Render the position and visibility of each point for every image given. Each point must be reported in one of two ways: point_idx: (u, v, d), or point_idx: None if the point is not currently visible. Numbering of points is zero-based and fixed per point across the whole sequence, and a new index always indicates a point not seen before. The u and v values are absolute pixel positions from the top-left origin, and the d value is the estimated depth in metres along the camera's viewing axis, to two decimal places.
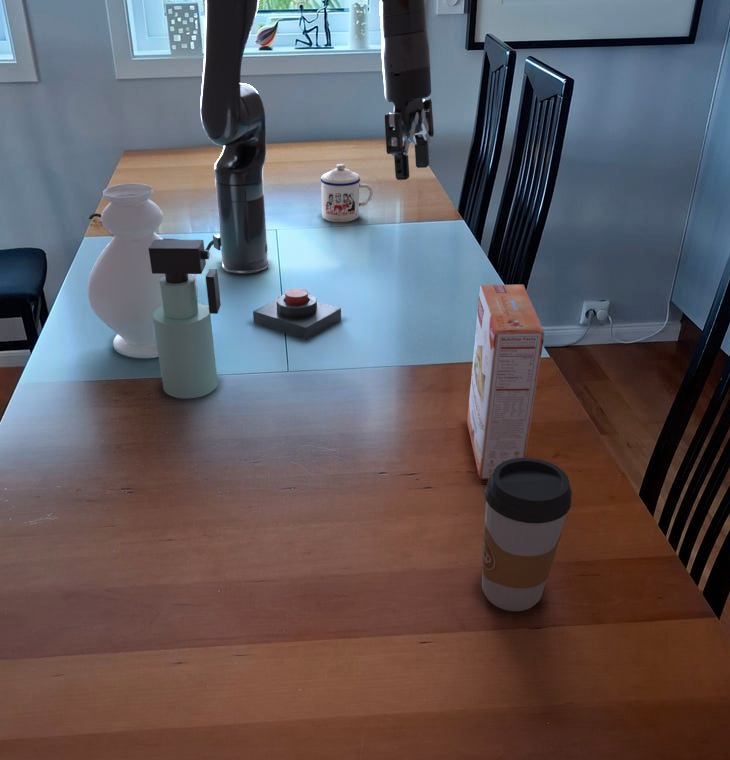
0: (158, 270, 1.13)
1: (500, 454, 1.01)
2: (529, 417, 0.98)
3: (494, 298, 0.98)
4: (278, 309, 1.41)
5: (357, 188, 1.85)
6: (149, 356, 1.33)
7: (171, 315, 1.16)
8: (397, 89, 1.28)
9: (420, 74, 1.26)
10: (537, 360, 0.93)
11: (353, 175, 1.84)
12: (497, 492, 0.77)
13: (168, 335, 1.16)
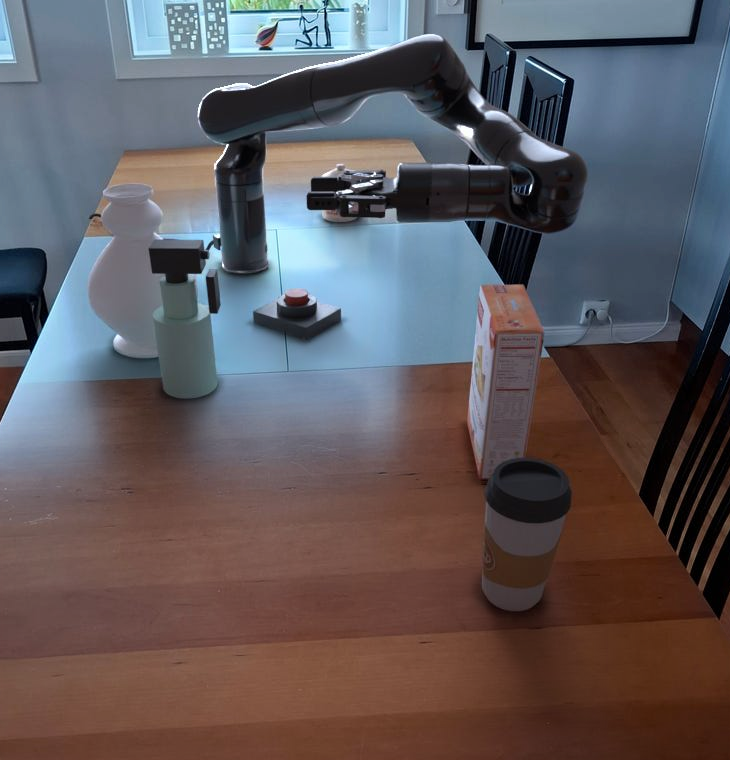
0: (158, 270, 1.13)
1: (500, 454, 1.01)
2: (529, 417, 0.98)
3: (494, 298, 0.98)
4: (278, 309, 1.41)
5: None
6: (149, 356, 1.33)
7: (171, 315, 1.16)
8: (411, 200, 1.06)
9: (422, 221, 1.09)
10: (537, 360, 0.93)
11: None
12: (497, 492, 0.77)
13: (168, 335, 1.16)
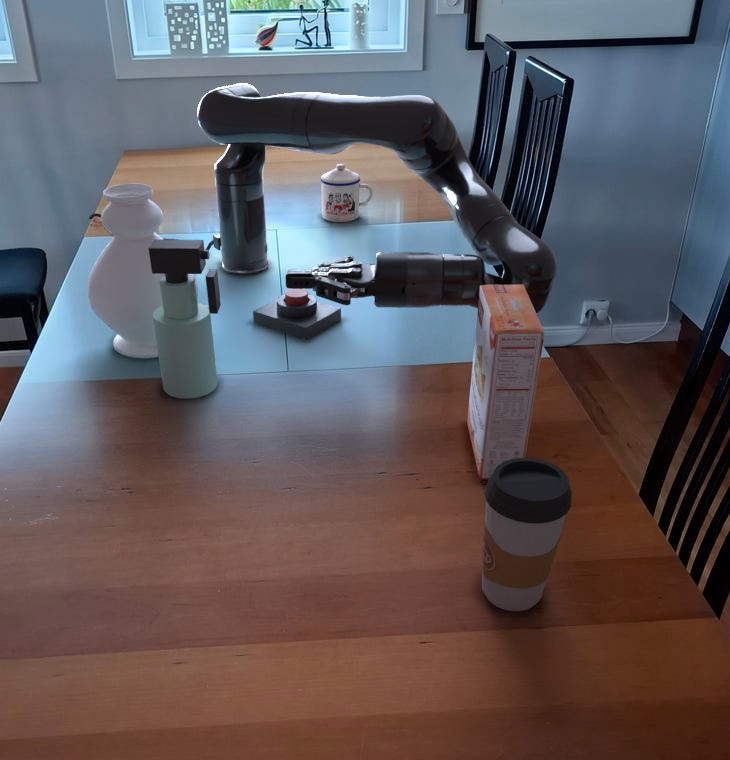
0: (158, 270, 1.13)
1: (500, 454, 1.01)
2: (529, 417, 0.98)
3: (494, 298, 0.98)
4: (278, 309, 1.41)
5: (357, 188, 1.85)
6: (149, 356, 1.33)
7: (171, 315, 1.16)
8: (388, 289, 1.11)
9: (399, 307, 1.14)
10: (537, 360, 0.93)
11: (353, 175, 1.84)
12: (497, 492, 0.77)
13: (168, 335, 1.16)
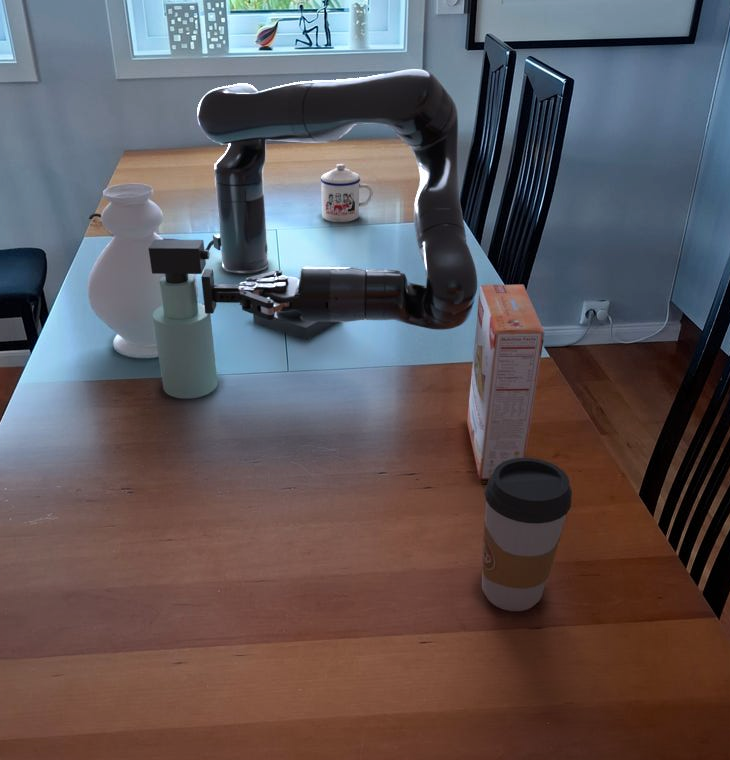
0: (158, 270, 1.13)
1: (500, 454, 1.01)
2: (529, 417, 0.98)
3: (494, 298, 0.98)
4: None
5: (357, 188, 1.85)
6: (149, 356, 1.33)
7: (171, 315, 1.16)
8: (312, 304, 1.12)
9: None
10: (537, 360, 0.93)
11: (353, 175, 1.84)
12: (497, 492, 0.77)
13: (168, 335, 1.16)
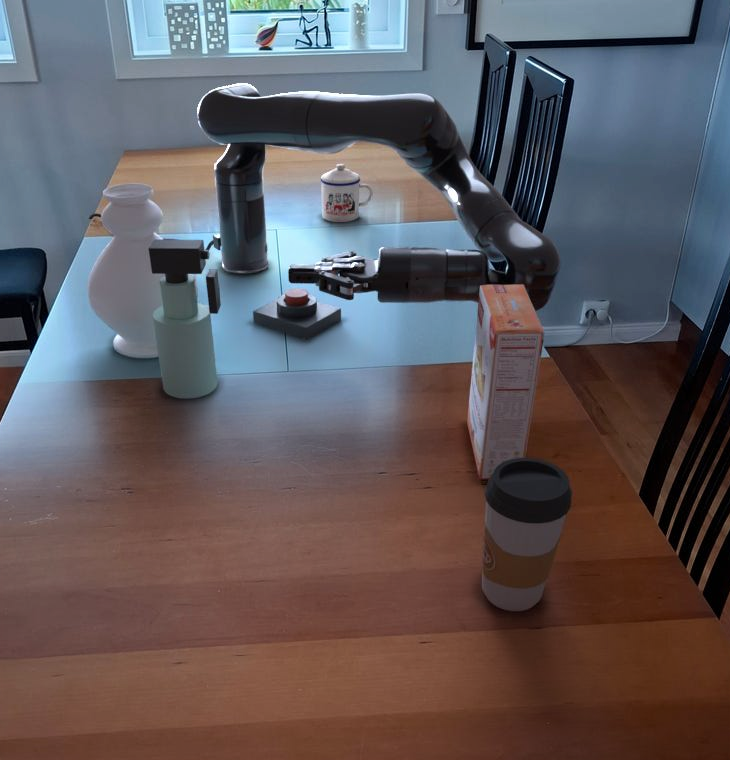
0: (158, 270, 1.13)
1: (500, 454, 1.01)
2: (529, 417, 0.98)
3: (494, 298, 0.98)
4: (278, 309, 1.41)
5: (357, 188, 1.85)
6: (149, 356, 1.33)
7: (171, 315, 1.16)
8: (391, 284, 1.10)
9: (402, 302, 1.14)
10: (537, 360, 0.93)
11: (353, 175, 1.84)
12: (497, 492, 0.77)
13: (168, 335, 1.16)
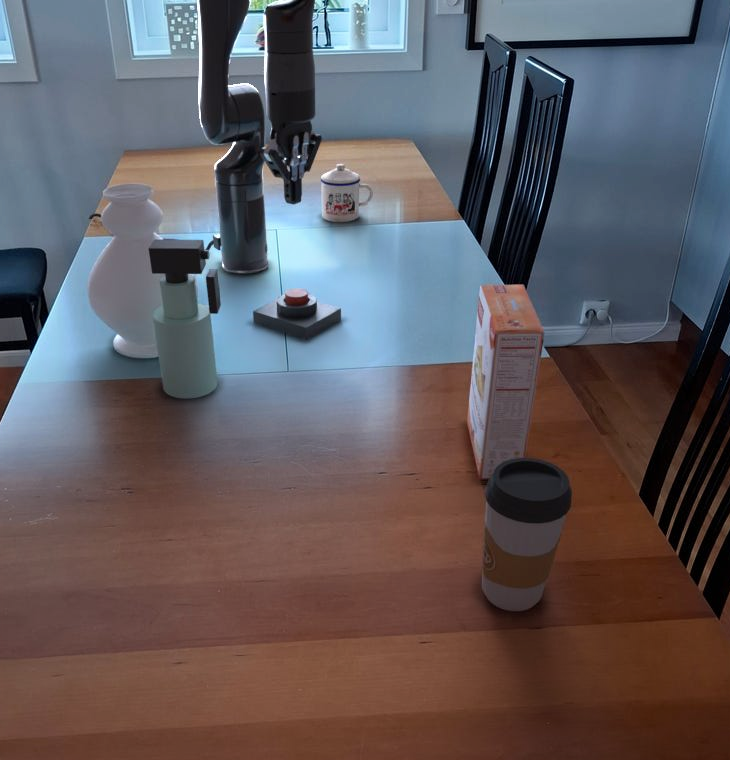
0: (158, 270, 1.13)
1: (500, 454, 1.01)
2: (529, 417, 0.98)
3: (494, 298, 0.98)
4: (278, 309, 1.41)
5: (357, 188, 1.85)
6: (149, 356, 1.33)
7: (171, 315, 1.16)
8: (274, 109, 1.20)
9: (298, 98, 1.19)
10: (537, 360, 0.93)
11: (353, 175, 1.84)
12: (497, 492, 0.77)
13: (168, 335, 1.16)
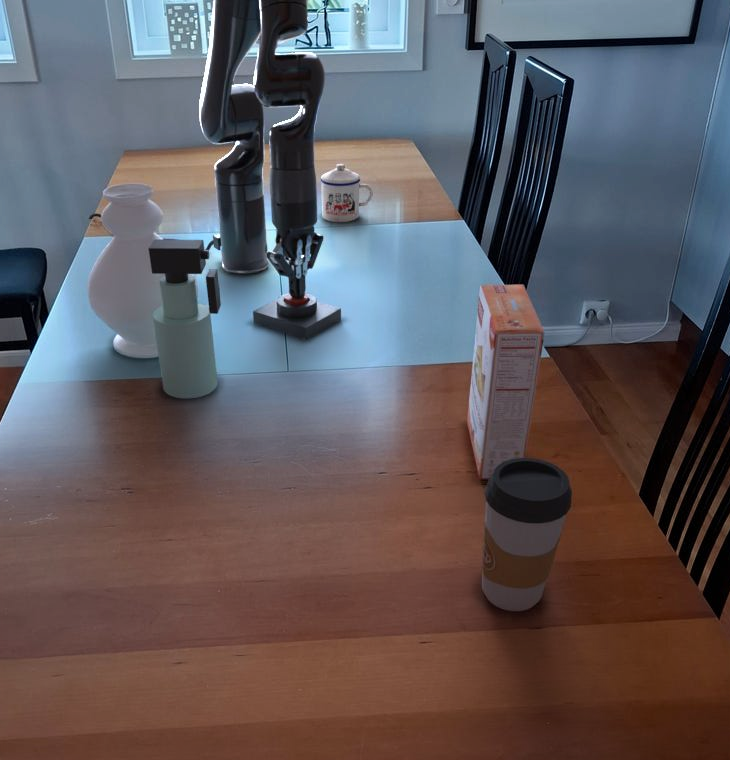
0: (158, 270, 1.13)
1: (500, 454, 1.01)
2: (529, 417, 0.98)
3: (494, 298, 0.98)
4: (278, 309, 1.41)
5: (357, 188, 1.85)
6: (149, 356, 1.33)
7: (171, 315, 1.16)
8: (279, 217, 1.30)
9: (301, 208, 1.28)
10: (537, 360, 0.93)
11: (353, 175, 1.84)
12: (497, 492, 0.77)
13: (168, 335, 1.16)
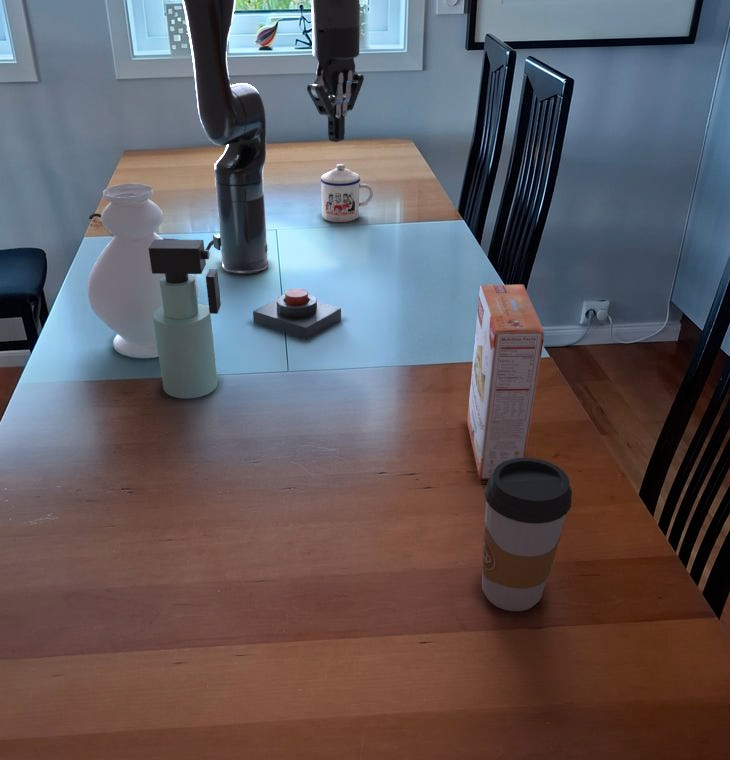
0: (158, 270, 1.13)
1: (500, 454, 1.01)
2: (529, 417, 0.98)
3: (494, 298, 0.98)
4: (278, 309, 1.41)
5: (357, 188, 1.85)
6: (149, 356, 1.33)
7: (171, 315, 1.16)
8: (321, 46, 1.27)
9: (344, 34, 1.25)
10: (537, 360, 0.93)
11: (353, 175, 1.84)
12: (497, 492, 0.77)
13: (168, 335, 1.16)
